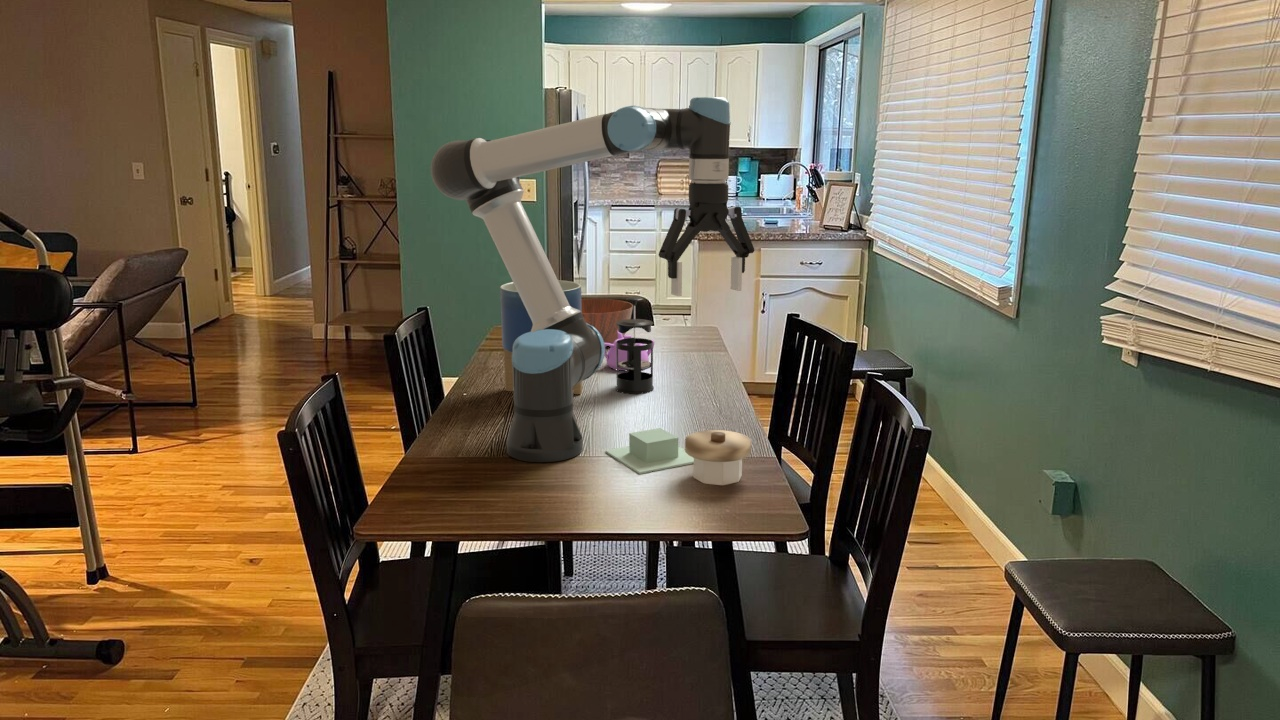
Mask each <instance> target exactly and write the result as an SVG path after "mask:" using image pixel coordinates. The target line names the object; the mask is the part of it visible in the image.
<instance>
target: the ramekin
mask: <svg viewBox="0 0 1280 720" xmlns="http://www.w3.org/2000/svg"><path fill="white" fill-rule="evenodd" d="M692 474H693V475H692V477H693V478H694V479H695V480H696V481H699V482H701V483H703V484H707V485H715V486H716V485H717V486H726V485H731V484H735V483H739V482H740V480H741V478H742V475H743V459H741V460H737V461H730V462H711V461H704V460H699V459H696V458H694V463H693V473H692Z"/></svg>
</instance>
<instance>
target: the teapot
mask: <svg viewBox="0 0 1280 720" xmlns="http://www.w3.org/2000/svg"><path fill="white" fill-rule="evenodd" d="M617 332H618V331H617ZM627 338H633V337H632V335H630V334H625V335H624V336H623V335H622V333H620V332H618V339H617V340H615V342H614V343H613V344H610V343H604V346H605V355H604V358H605V359H606V364H607V366H608V367H609V368H610V367H611V368H613V369H617V363H616V342H617V341H618V340H621V339H627ZM650 340H651V341H653V348H654V347H655V341H654V340H653V339H650ZM622 345H627V344H622ZM641 345H644V344H640V343H635V346H641ZM606 346H609V347H610V348H609V350H608V351H607V347H606ZM649 356H651V349H649V350H645V351H641V360H643V361H648V362H650V358H649ZM622 361H627V351H624V350H620V349H618V363H619V362H622ZM611 368H610V369H611ZM613 369H612V370H613ZM618 370H625V369H621V368H619V367H618Z"/></svg>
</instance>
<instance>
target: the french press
mask: <svg viewBox="0 0 1280 720" xmlns="http://www.w3.org/2000/svg"><path fill="white" fill-rule="evenodd" d="M625 300H626V301H627V302H628V301H629V302H632V305H633V318H631V319H625V320H620V321H617V322H616V324H617V325H618V332H620V333H625V334H626V333H627V332H628V331H630V330H632V329H633V337H632V338H627V339H621V340H618V341H617V342H616V363H617V370H616V386H615V391H617V390H618V391H619V393H621V392H623V393H622V394H626V393H629V394H628V395H641V393H643V394H648V393H651V392H652V391H654V386H653V385H654V383H653V382H654V375H653V374H654V361H653V360H654V359H653V357H654V347H653V341H651V340H652V339H648V338H640V337H636V328H637V329H642V330H644V331H645V332H647V333H651V332H652V325H653V324H654V322H653V321H652V320H649V319H643V318H642V319H641V318H636V306H637V302H639V301H643V300H644V298H643V297H638V296H631V297H627V298H625ZM635 343H640V344H643V345H641V346H635ZM622 344H627V345H622ZM618 349H620V350H624V351H627V361H622V362H619V363H618ZM649 349H651V353H650V361H649V362H648V361H643V360H641V351H645V350H646V351H648V350H649ZM618 367H619V368H621V369H625V370H627V371H623V372H620V373H619V371H618ZM647 369H650V373H648V372H643V371H645V370H647ZM618 391H617V392H618ZM650 391H651V392H650ZM647 392H648V393H647Z"/></svg>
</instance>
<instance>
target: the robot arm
mask: <svg viewBox="0 0 1280 720" xmlns="http://www.w3.org/2000/svg"><path fill="white" fill-rule="evenodd" d="M730 113H731V112H730V102H729V100H728V99H727V97H721V96H720V97H718V96H717V97H716V96H713V97H712V96H702V97H698V96H697V97H692V98H690V100H689V106H688V107H686V108H655V107H653V108H652V107H645V106H644V107H643V106H638V105H629V106H624V107H621V108H619V109H617V110H616V111H612V112H609V113H602V114H600V115H595V116H589V117H587V118H582V119H577V120H573V121H569V122H565V123H561V124H556V125H552V126H547V127H544V128H540V129H536V130H531V131H526V132H522V133H518V134H514V135H510V136H505V137H501V138H497V139H485V138H481V137H478V138H477V137H476V138H473V139H467V140H462V139H461V140H458V139H457V140H452V141H449V142H447V143H444V144H443V145H442V146H440V147H439V148H438V149H437V150H436V152H434V155H433V157H432V159H431V163H430V175H431V179H432V181H433V183H434V185H435V187H436V188H437V190H438V191H439V192H441V194H443V195H444V196H446V197H447V198H450V199H453V200H456V201H465V202H466V204H467V206H468V207H469V210H470V211H471V213H472V215H473V216H474V217H477V218H479V219H481V220H483V222H484V225H485V226H486V228H487V231H488V232H489V235H490V236H491V239H492V241H493V243H494V244H495V247H496V249H497V251H498V254H499V256H500V257H501V259H502V262H503V263H504V265H505V268H506V269H507V272H508V275H509V276H510V278H511V280H512V281H511V282H513V283H514V285H515V287H516V289H517V291H518V293H519V295H520V297H521V299H522V302H523V304H524V306H525V308H526V310H527V312H528V314H529V316H530V318H531V320H532V323H533V326H532V329H531V332H528V333H525V334H523V335H521V336H519V337H518V338H517V339H516V340H515V342H514V344H513V354H512V364H513V389H514V390H513V406H514V407H513V408H514V410H513V411H514V414H513V419H512V420H511V424H510V427H509V430H508V434H507V439H506V453H507V455H508V456H510V457H511V458H513V459H516V460H518V461H523V462H530V463H552V462H561V461H564V460H568V459H569V460H570V459H572V458H574V457H576V456H578V455H580V454H581V453H582V452H583V449H584V447H583V445H584V443H583V435H582V433H581V430H580V428H579V424H578V421H577V419H576V416H575V413H574V394H573V386H575V385H576V384H578V383H580V382H581V381H582V382H583V381H585V380H587V379H590V378H591V377H592V376H593V375H594V374H595V373H596V372H597V371H598V370H599V369H600V367H601V366H602V364H603V362H604V358H605V356H604V355H605V346H604V341H603V338H602V336H601V334H600V333H599V332H598V330H597V329H596V328H595V327H593V326H591V325H589V324H587V323H586V322H585V320H584V317H583V315H582V313H581V311H580V310H578V309H575V308H572V307H571V306H570V305H569V303H568V301H567V298H566V296H565V294H564V292H563V290H562V288H561V286H560V284H559V282H558V280H559V279H558V278H557V275H556V274H555V272H554V271H555V270H554V269H553V267H552V265H551V262H550V261H549V259H548V256H547V255H546V252H545V251H544V248H543V246H542V243H541V242H540V240H539V237H538V236H537V233H536V231H535V228H534V227H533V224H532V223H531V221H530V219H529V216H528V214H527V212H526V210H525V208H524V206H523V204H522V199H523V196H524V193H525V190H524V188H523V186H522V185H521V182H520V180H521V179H520V178H521V177H523V176H528V175H533V174H537V173H541V172H546V171H549V170H550V171H551V170H554V169H555V170H556V169H559V168H564V167H568V166H573V165H577V164H582V163H586V162H591V161H596V160H600V159H603V158H610V157H612V156H618V155H625V154H628V153H633V152H638V151H651V150H652V151H653V150H654V151H655V150H688V152H689V155H688V157H689V158H688V159H689V162H688V179H689V180H691V182H690V183H689V184H688V202H689V207H688V209H685V208H679V207H676V208H675V209H674V210H673V217H672V218H673V219H672V221H671V224H670V226H669V229H668V231H667V234H666V236H665V238H664V241H663V242H662V245H661V247H660V249H659V252H658V257H659V258H660V259H664V260H666V261H667V276H668V278H669V279H671V280H670V281H671V283H670V284H671V287H670V290H671V295H673V296H677V297H682V295H683V291H682V289H683V287H682V285H683V261H680V258H681V257H682V255H684V253H685V251H686V250H687V248H688V247H689V246H690V244H691V243H692V241H693V240H694V239H695V237H696V236H697V235H699V234H700V233H701V232H702V233H704V232H710V231H712V232H718V233H719V234H720V235H721V237H722V238H723V240H724V241H725V243H726V244H727V245H728V247H729V248H730V249H731V251H732V252H733V254H734V255H733V256H731V260H730V263H731V265H730V290H733V291H737V292H739V291H742V284H743V283H742V280H743V279H742V277H743V274H744V273H745V271H746V258H748V257H750V256H749V255H750V254H753V253H754V252H755V247H754V245H753V242H752V240H751V237H750V235H749V232H748V229H747V227H746V224H745V222H744V220H743V214H742V213H743V212H742V207H740V206H735V205H730V207H728V205H727V203H728V201H729V184H728V183H727V182H726V181H728V180H729V174H730V173H729V171H730V170H729V169H730V167H729V166H730V161H729V160H730V135H731V133H730V132H731V124H732V122H731V116H730V115H731V114H730ZM727 217H728V218H729V219H730V223H731V225H732V226H733V230H734V232H735V234H734V233H733V231H732V230H731V227H730V226H729V224H728V223H727V221H726V219H727ZM688 219H689V220H690V221H689V223H687V225H686V227H685V230H684V231H683V233H682V230H683V228H684V226H685V223H686V220H688ZM681 233H682V234H681ZM680 235H681V236H680Z"/></svg>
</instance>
